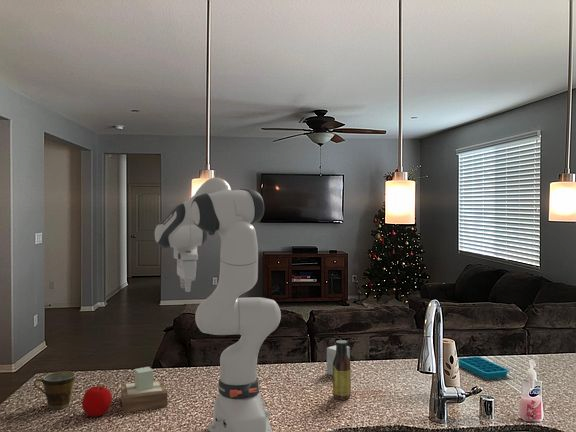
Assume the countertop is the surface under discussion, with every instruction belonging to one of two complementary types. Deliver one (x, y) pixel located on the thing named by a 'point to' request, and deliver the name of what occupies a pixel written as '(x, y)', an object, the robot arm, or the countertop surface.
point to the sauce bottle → (341, 372)
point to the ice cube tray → (483, 367)
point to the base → (143, 397)
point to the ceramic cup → (58, 388)
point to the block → (143, 378)
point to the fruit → (96, 401)
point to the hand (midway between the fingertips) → (185, 289)
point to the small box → (330, 358)
